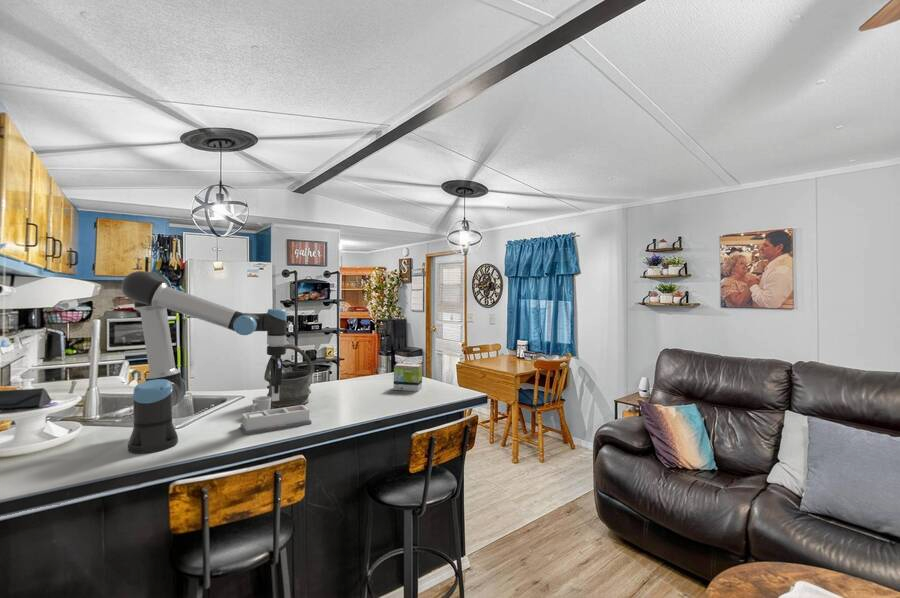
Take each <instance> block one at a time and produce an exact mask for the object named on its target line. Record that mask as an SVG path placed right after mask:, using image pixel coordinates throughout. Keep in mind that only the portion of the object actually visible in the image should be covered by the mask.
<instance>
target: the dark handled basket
mask: <svg viewBox="0 0 900 598" xmlns="http://www.w3.org/2000/svg"><path fill="white" fill-rule="evenodd" d="M285 346H286V350H293V351H295V352H297V353H299V355H301V356H302V357H303V359H304V360H305V362H306V364H307V370H301V371H298V370H297V371H296V370H295V371H284V372H283V371H282V377H281V385H279V401H272V386H271V385H272V383H271V374H270V359H272V355H270V357H269V359H268V361H267V364H266V366H265V372H264V375H263V376H264V377H263V378H264V381H265V382H268V385H267V386H266V388H267V389H268V393H267V394H266V396H269V397H271V407H273V408H277V409H278V408H285V407H292V406H299V405H304V406H305V405H306V404H309V401H310V400H309V396H310V394H311V393H312V390H311V389H310V387H311V382H309V379H310V378H312V377H311V376H313V374H314V373H315V367H314V365H313V362H312V361H311V359H310V357H309V356H308V355H307V354H306V353H305V351H304V350H302V349H301V348H300V347H299V346H297V345H296V344H291V343H289V344H288V343H286V344H285Z"/></svg>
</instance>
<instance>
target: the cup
mask: <svg viewBox="0 0 900 598" xmlns="http://www.w3.org/2000/svg"><path fill="white" fill-rule="evenodd" d="M271 407H272V406H271V397H269V396H267V395H264V396H263V395H262V396H256V397H253V398H252V405H251V408H250V409H251V412H258V411H264V410H271Z"/></svg>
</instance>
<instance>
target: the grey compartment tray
mask: <svg viewBox="0 0 900 598" xmlns="http://www.w3.org/2000/svg"><path fill="white" fill-rule="evenodd" d="M296 410H300V411H296ZM289 411H294V412H289ZM258 413H262V414H263V415H264V416H261V417H255V418H248V415H252V414H258ZM276 413H281V414H276ZM270 414H274V415H270ZM241 415H242V416H241V417H242V418H241V422H242V423H240V425H239V426H240V429H241V430H242V431H243V434H244V435H245V436H247V435H249V436H250V435H254V434H261V433H266V432H271V431H278V430H284V429H289V428H295V427H301V426H307V425H312V420H311V419H310V409H309V408H308V407H307V406H305V404H304V405H299V406H292V407H285V408H278V407H277V408H272V409H271V408H270V410H264V411H258V412H252V411H251V412H245V413H241Z"/></svg>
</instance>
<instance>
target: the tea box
mask: <svg viewBox="0 0 900 598" xmlns="http://www.w3.org/2000/svg"><path fill="white" fill-rule="evenodd" d="M422 387H423V364H422V363H412V362H409V363H408V362H397V363H396V364H395V365H393V390H394V391H409V392H410V391H411V392H419V391H420V390H421V389H422Z"/></svg>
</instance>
